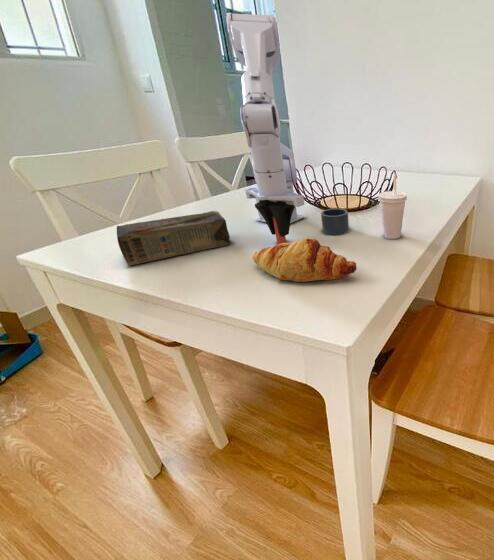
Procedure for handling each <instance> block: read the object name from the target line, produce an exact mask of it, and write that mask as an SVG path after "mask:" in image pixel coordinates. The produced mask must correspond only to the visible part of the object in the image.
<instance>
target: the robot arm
mask: <svg viewBox="0 0 494 560" xmlns="http://www.w3.org/2000/svg"><path fill="white" fill-rule="evenodd" d="M225 19H226V26H227V32H228V36H229V41H230V43H231V46H232V49H233V52H234V55H235V58H237V61H238V63H239V64H240V65H241V66H244V67H246V71H245V72H244V73H243V74H242V76H241V88H242V100H243V101H242V102H243V106H240V108H239V111H240V112H239V113H240V121H241V125H242V129H243V132H244V135H245V138H246V142H247V146H248V148H249V149H250V155H251V160H252V162H251V163H252V173H253V177H254V182H255V183H256V186H257V187H249V188H245V189H244V191H245V197H246V199H249V200H250V199H255V202H256V203H255V204H254V208H255V209H256V210H257V212H258V218H257V219H256V220H257V222H262V223H266V224H267V227H268V230H269V231H270V234H271V235H275V236H276V234H275V228H274V222H273V216H274V218H275V220H276V223H277V228H278V232H279V234H280V236H281V237H283V236H286V237H287V235H289V234H290V227H291V224H293V223H296V222H297V221H299V220H302V219H305V215H302V214H298V213H297V208H300V207H302V206H304V205H305V198H304V197H305V196H304V195H303V194H299V193H297V192H294V184H297V182H298V174H297V167H296V161H295V155H294V152H293V151H292V149H291V148H289V147H287V146H286V145H284V144H283V143H282V142H281V133H282V132H281V131H282V130H281V121H280V115H279V109H278V107H277V103H276V99H275V89H274V81H273V74H274V68H276V67H277V66H279V65H280V64H281V51H280V48H281V47H280V40H279V39H280V38H279V31H278V23H277V18H276V17H275V16H274V14H269V15H268V14H250V13H249V14H248V13H232V12H228V13H227V15H226V17H225Z"/></svg>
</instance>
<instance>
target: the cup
mask: <svg viewBox="0 0 494 560" xmlns="http://www.w3.org/2000/svg"><path fill="white" fill-rule="evenodd" d="M320 217H321V227H322V232H323V233H324V234H325V235H330V236H338V235H344V234H346V233H348V232H349V231H350V226H349V225H350V224H349V212H348V210H347V209H344V208H328V209H325V210H322V211H321V212H320Z"/></svg>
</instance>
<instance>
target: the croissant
mask: <svg viewBox="0 0 494 560" xmlns="http://www.w3.org/2000/svg"><path fill="white" fill-rule="evenodd" d="M252 261H253V262H254V263H255V264H256V265H257V266H258V267H259V268H260V270H262V271H263V272H265V273H267V274H268V275H270V276H273V277H276V278H277V279H279V280H280V281H291V282H298V283H308V282H316V281H331V280H337V279H338V280H339V279H343V278H345V277H347V276H349V275H351V274H354V273H355V272H356V270H357V262H355V261H353V260H351V261H350V260H347V258H346V257H345V256H344V255H341V254H337V253H335V252H333V250H332V249H331V248H330V246H328V245H322V244H321V243H320V242H319V240H318V239H316V238H312V237H305V238H302V239H297V240H295V241H294V242H286V243H281V244H275V245H274V246H273V245H272V246H269V247H263V248H261V249H260V250H259V251H254V252H253V254H252Z"/></svg>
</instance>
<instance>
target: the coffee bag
mask: <svg viewBox="0 0 494 560" xmlns="http://www.w3.org/2000/svg"><path fill="white" fill-rule="evenodd" d="M116 239H117V243H118V248H119V250H120V253H121V254H122V257H123V259H124V261H125V263H126V264H127V266H135V265H139V264H143V263H148V262H152V261H157V260H162V259H167V258H171V257H177V256H182V255H186V254H191V253H195V252H200V251H206V250H210V249H215V248H219V247H224V246H230V245H231V244H232V243H231V238H230V233H229V230H228V226H227V221H226V219H225V218H224V216H222V214H221V213H220V212H219V211H217V210H212V211H211V210H210V211H207V212H203V213H194V214H187V215H181V216H174V217H166V218H161V219H153V220H148V221H140V222H134V223H126V224H122V225H117V226H116Z"/></svg>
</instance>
